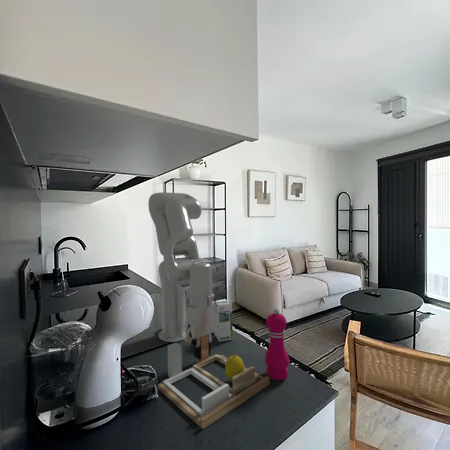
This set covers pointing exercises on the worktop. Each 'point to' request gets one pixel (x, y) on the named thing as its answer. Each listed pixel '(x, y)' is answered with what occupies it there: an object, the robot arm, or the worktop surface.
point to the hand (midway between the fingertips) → (202, 355)
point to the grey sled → (175, 374)
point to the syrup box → (224, 320)
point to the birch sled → (240, 379)
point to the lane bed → (223, 408)
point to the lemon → (233, 366)
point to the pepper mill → (276, 347)
